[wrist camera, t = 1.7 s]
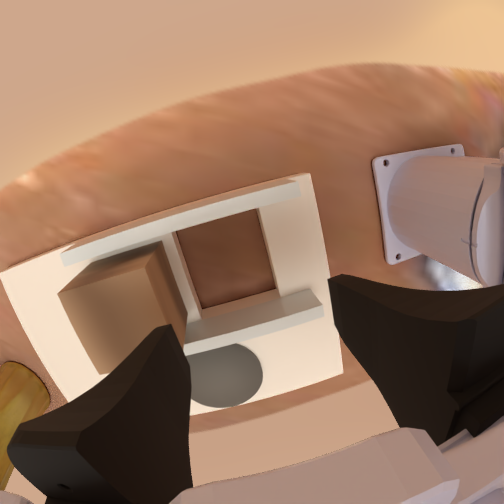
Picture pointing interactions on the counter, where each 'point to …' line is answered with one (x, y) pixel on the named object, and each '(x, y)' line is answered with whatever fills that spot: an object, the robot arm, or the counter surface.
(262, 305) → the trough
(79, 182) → the counter surface
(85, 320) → the walnut block
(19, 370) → the vase
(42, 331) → the board
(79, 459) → the robot arm
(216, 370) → the coaster
